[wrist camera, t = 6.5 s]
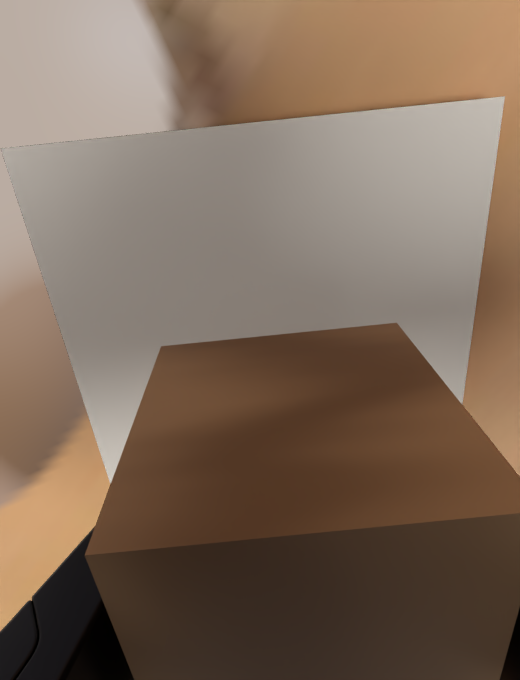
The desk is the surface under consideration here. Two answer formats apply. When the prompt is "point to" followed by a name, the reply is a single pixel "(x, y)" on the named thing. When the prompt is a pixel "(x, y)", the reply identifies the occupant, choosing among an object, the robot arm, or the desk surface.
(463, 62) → the desk surface
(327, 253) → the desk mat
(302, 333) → the walnut cube
